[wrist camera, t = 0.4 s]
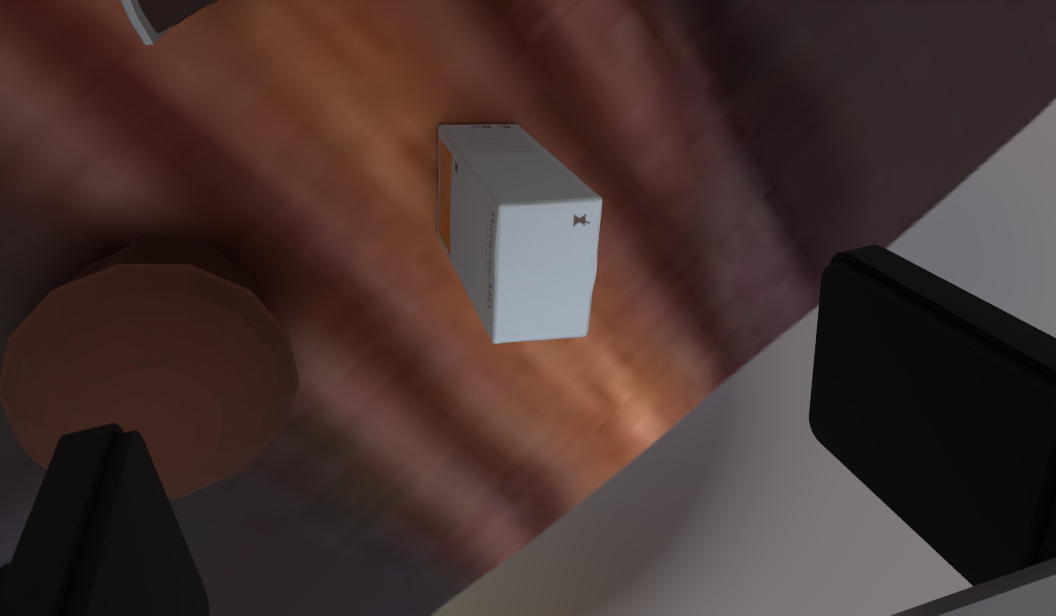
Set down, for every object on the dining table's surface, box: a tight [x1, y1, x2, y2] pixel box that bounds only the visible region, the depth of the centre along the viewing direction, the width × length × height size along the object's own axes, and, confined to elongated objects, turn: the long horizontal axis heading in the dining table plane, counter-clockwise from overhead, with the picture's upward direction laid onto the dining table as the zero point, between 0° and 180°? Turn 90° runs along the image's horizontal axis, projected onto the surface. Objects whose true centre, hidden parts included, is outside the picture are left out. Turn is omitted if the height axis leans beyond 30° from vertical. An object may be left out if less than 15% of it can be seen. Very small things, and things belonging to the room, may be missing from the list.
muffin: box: [0, 235, 299, 500], centre depth 34 cm, size 12×11×10 cm
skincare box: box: [437, 124, 602, 344], centre depth 35 cm, size 6×4×12 cm
